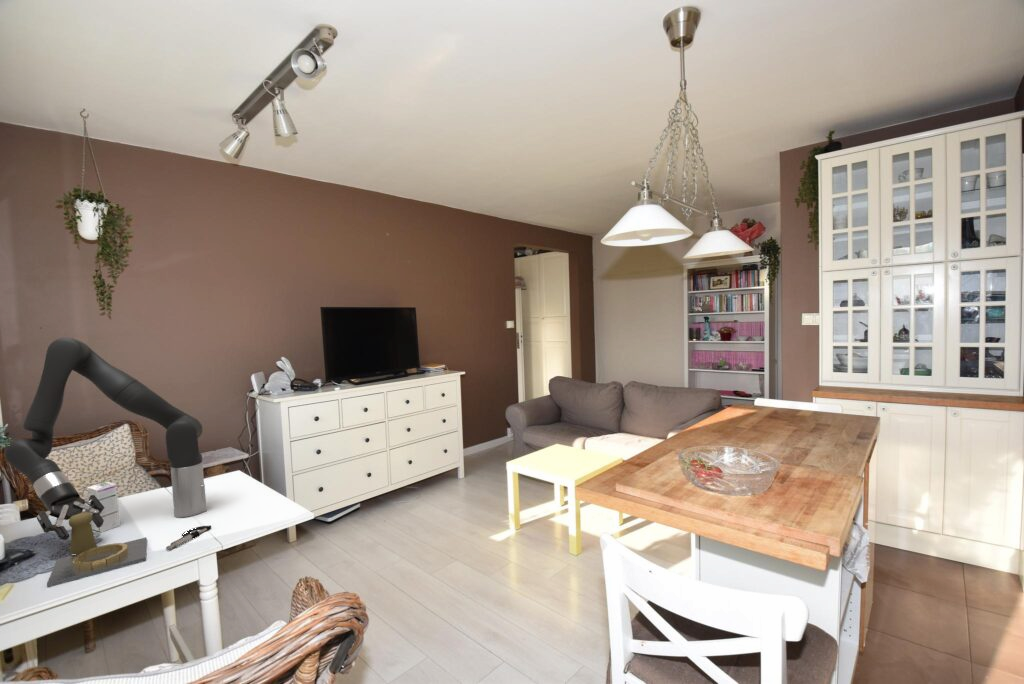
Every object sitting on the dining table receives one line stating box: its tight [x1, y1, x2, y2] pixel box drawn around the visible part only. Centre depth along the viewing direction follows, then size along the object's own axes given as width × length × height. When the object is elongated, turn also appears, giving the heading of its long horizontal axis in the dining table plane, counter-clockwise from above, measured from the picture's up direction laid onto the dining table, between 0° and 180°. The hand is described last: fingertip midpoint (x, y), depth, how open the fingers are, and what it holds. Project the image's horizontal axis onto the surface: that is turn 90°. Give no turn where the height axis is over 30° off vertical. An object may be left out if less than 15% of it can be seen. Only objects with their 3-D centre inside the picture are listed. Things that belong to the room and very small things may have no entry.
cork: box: [68, 512, 98, 555], centre depth 141 cm, size 6×6×11 cm
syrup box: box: [86, 481, 121, 533], centre depth 156 cm, size 6×6×14 cm
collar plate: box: [46, 537, 148, 588], centre depth 133 cm, size 20×16×2 cm
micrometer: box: [165, 525, 212, 551], centre depth 146 cm, size 15×7×2 cm, turn 166°
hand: (84, 531), depth 140 cm, fingers open, 8 cm apart
